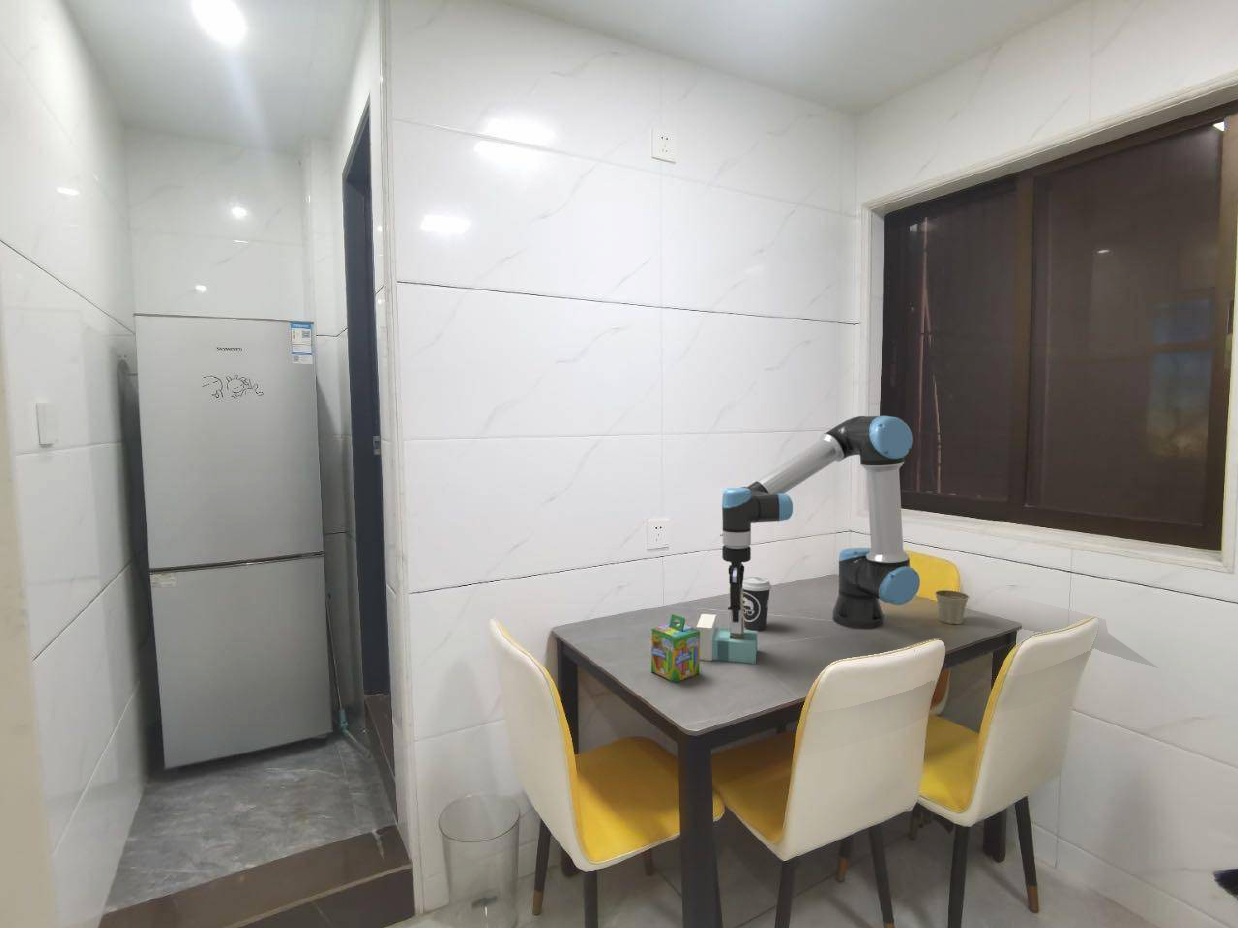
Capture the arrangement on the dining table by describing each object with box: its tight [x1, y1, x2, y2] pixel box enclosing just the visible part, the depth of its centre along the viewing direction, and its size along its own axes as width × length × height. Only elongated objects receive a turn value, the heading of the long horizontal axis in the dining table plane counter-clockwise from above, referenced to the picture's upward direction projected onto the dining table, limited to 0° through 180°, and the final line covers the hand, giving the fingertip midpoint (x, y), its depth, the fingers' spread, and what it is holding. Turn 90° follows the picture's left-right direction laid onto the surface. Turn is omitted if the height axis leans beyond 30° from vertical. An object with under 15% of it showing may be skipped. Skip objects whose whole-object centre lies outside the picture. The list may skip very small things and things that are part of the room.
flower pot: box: [934, 589, 970, 625], centre depth 190 cm, size 9×9×9 cm
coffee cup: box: [742, 575, 772, 632], centre depth 187 cm, size 10×10×15 cm
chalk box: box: [650, 613, 701, 684], centre depth 155 cm, size 9×9×15 cm
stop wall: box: [695, 613, 717, 662], centre depth 168 cm, size 4×11×9 cm, turn 165°
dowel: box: [729, 587, 745, 640], centre depth 166 cm, size 4×4×15 cm
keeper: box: [712, 627, 758, 665], centre depth 166 cm, size 12×9×6 cm
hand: (736, 629), depth 166 cm, fingers closed on dowel, 3 cm apart
